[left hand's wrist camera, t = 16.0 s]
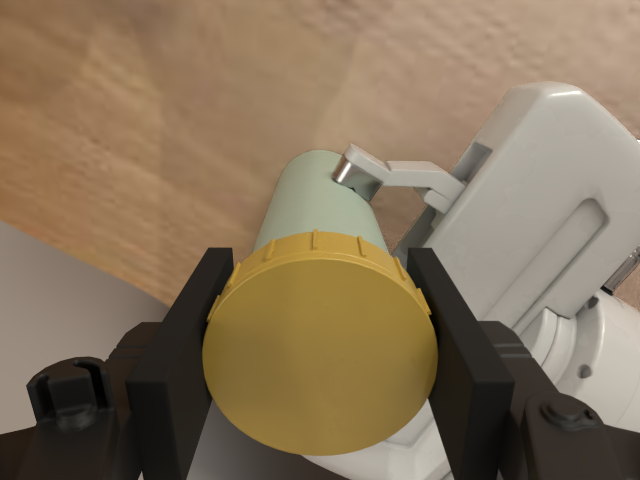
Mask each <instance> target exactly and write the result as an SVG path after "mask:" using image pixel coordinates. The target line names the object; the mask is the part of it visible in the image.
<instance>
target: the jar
mask: <svg viewBox="0 0 640 480" xmlns="http://www.w3.org/2000/svg"><path fill="white" fill-rule="evenodd" d="M341 157H342V155H340V154H338V153H335V152H332V151H327V150H313V151H308V152H305V153H303V154H301V155H299V156H297V157H296V158H294V159H293V160H292V161H291V162H289V164H288V165H287V166H286V167H285V169H284V170H283V172H282V174H281V176H280V178H279V181H278V184H277V186H276V189H275V192H274V194H273V197H272V200H271V202H270V205H269V208H268V210H267V213H266V216H265V218H264V221H263V224H262V226H261V229H260V232H259V234H258V237H257V240H256V242H255V245H254V248H253V250H252V253H254V252H255V251H257V250H258V249H260V248H261V247H263V246H265V245H266V244H269V242H270V240H271V239H273V238H274V240H278V239H280V238H283V237H287V236H290V235H294V234H299V233H306V232H313V229H318V232H335V233H341V234H346V235H351V236H354V237H358V235H360V236H362V238H363V240H365V241H368V242H370V243H371V244H373V245H375V246H377V247H379V248H381V249H382V250H384V251H385V252H387V253H388V254H389V252H388V250H387V247H386V244H385V242H384V239H383V236H382V233H381V231H380V228H379V225H378V223H377V220H376V217H375V215H374V212H373V209H372V207H371V204H370V201H368V200H366V199H365V198H363V197H361V196H360V195H358V194H357V193H356V192H355V189H354V188H347V187H345V186H343V185H341V184H340V183H338V182H337V181H336V180H335V179H334V178H333V174H332V172H333V170H334V169H335V167H336V165H337V164H338V162H339V160H340V159H341ZM252 253H251V254H252Z"/></svg>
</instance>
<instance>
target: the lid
mask: <svg viewBox="0 0 640 480" xmlns="http://www.w3.org/2000/svg"><path fill="white" fill-rule="evenodd" d="M428 315H431V311H430V309H429V307H428V305H427V303H426V300H425V298H424V296H423V294H422V292H421V289H420V288H418V289H417V288H416V286H415V284H414V282H413V281H412V279H411V278H410V276H409V274H408V273H407V272H406V271H405V269H404V268H403V267H402V266H401V263H400V261H399V259H398V258H397V257H394V258H393V257H392V256H391V255H389V254H388V253H387V252H385V251H384V250H382V249H381V248H379V247H377V246H375V245H373V244H371V243H370V242H368V241H365V240H363V238H362V236H360V235H358V237H354V236H351V235H346V234H341V233H335V232H318V229H313V232H306V233H299V234H294V235H290V236H287V237H283V238H280V239H278V240H274V238H273V239H271V240H270V242H269V244H266V245H265V246H263V247H261V248H260V249H258V250H257V251H255V252H254V253H252V254H251V255H250V256H249V257H247V258H246V259H245V260H244V261H243V262H242V263H239V262H238V263H237V264H236V266H235V268H234V270H233V273H232V275H231V277H230V278H229V279H228V281H227V283H226V285H225V287H224V289H223V291H222V293H221V296H220V295H218V296H217V298H216V300H215V302H214V304H213V307H212V309H211V311H210V313H209V315H208V318H207V320H206V322H208V325H207V329H206V332H205V335H204V339H203V345H202V360H203V369H204V378H205V381H206V384H207V387H208V390H209V392H210V394H211V396H212V398H213V400H214V401H215V403H216V404H217V406H218V407H219V409H220V410H221V412H222V413H223V414H224V415H225V416H226V417H227V418H228V419H229V421H230V422H232V423H233V424H234V425H235V426H236V427H237V428H238V429H240V430H241V431H242V432H244V433H245V434H247V435H248V436H250V437H251V438H253V439H255V440H257V441H259V442H261V443H263V444H265V445H268V446H270V447H273V448H275V449H278V450H282V451H285V452H289V453H295V454H300V455H309V456H333V455H340V454H347V453H351V452H355V451H359V450H362V449H365V448H368V447H371V446H373V445H375V444H378V443H380V442H382V441H384V440H386V439H387V438H389V437H391V436H392V435H394V434H395V433H397V432H398V431H399V430H401V429H402V428H403V427H404V426H406V425H407V424H408V423H409V422H410V421H411V420H412V419H413V418H414V417H415V416H416V415H417V413H418V412H419V411H420V409H421V408H422V407H423V405H424V404H425V402H426V400H427V399H428V397H429V395H430V393H431V390H432V388H433V385H434V383H435V379H436V372H437V364H438V342H437V338H436V334H435V330H434V327H433V325H432V323H431V320H430V318H429V316H428Z"/></svg>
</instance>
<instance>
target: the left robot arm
mask: <svg viewBox="0 0 640 480" xmlns="http://www.w3.org/2000/svg"><path fill="white" fill-rule="evenodd" d="M233 270H234V265H233V252H232V248H208V249H207V251H206V253H205V254H204V256H203V257H202V259H201V261H200V262H199V264H198V265H197V267H196V269H195V270H194V272H193V273H192V275H191V277H190V278H189V280H188V281H187V283H186V285H185V286H184V288H183V289H182V291H181V293H180V294H179V296H178V297H177V299H176V301H175V302H174V304H173V305H172V307H171V309H170V310H169V312H168V313H167V315H166V317H165V318H164V320H163V321H162V322H141V323H140V324H139V325H137V326H136V327H134V328H133V329H131V330H130V331H128V332H127V333H126V334H125V335H124V336H123V338H122V339H121V340H120V342H119V343H118V345H117V348H115V349H114V350H113V351H112V353H111V354H110V355H109V359H107V360H106V361H105V362H104V361H102V360H101V359H98V358H94V357H75V358H71V359H67V360H63V361H60V362H57V363H55V364H53V365H50V366H48V367H46V368H44V369H43V370H42V371H40V372H39V373H37V374H36V375H35V376H33V378H32V379H31V380H30V381H29V383H28V384H27V385H26V387H27V390H28V394H29V397H30V401H31V404H32V408H33V411H34V415H35V418H36V421H37V423H36V426H34V427H30V428H27V429H23V430H18V431H14V432H10V433H5V434H0V480H138V478H139V476H140V474H141V471H142V473H143V479H144V480H186V478H187V475H188V472H189V469H190V466H191V463H192V460H193V457H194V454H195V451H196V448H197V445H198V441H199V438H200V435H201V432H202V429H203V426H204V423H205V420H206V417H207V414H208V411H209V408H210V405H211V402H212V399H213V398H212V396H211V394H210V392H209V390H208V387H207V384H206V381H205V378H204V369H203V360H202V345H203V339H204V335H205V332H206V329H207V325H208V322H206V320H207V318H208V315H209V313H210V311H211V309H212V307H213V304H214V302H215V300H216V298H217V296H218V295H220V296H221V293H222V291H223V289H224V287H225V285H226V283H227V281H228V279H229V278H230V277H231V275H232V273H233ZM406 272H407V273H408V274H409V276H410V278H411V279H412V281H413V282H414V284H415V286H416V288H417V289H418V288H420V289H421V292H422V294H423V296H424V298H425V300H426V303H427V305H428V307H429V309H430V311H431V315H428V316H429V318H430V320H431V323H432V325H433V327H434V330H435V334H436V338H437V342H438V364H437V372H436V379H435V383H434V385H433V388H432V390H431V393H430V395H429V397H428V401H429V404H430V407H431V410H432V413H433V416H434V419H435V422H436V425H437V429H438V432H439V435H440V438H441V441H442V444H443V447H444V450H445V453H446V456H447V459H448V462H449V465H450V468H451V471H452V474H453V478H454V480H497V475H498V470H499V471H500V473H501V475H502V478H503V480H640V433H639V432H635V431H630V430H626V429H621V428H617V427H613V426H610V425H606V424H604V423H603V421H602V420H601V418H600V417H599V415H598V414H597V412H596V411H594V410H593V409H592V408H591V407H590V406H588V405H587V404H586V403H584V402H582V401H580V400H578V399H576V398H574V397H572V396H570V395H566V394H563V393H560V392H559V391H558V390H557V388H556V387H555V385H554V384H553V383H552V381H551V380H550V379H549V377H548V376H547V375H546V373H545V372H544V371H543V369H542V368H541V367H540V365H539V364H538V363H537V361H536V360H535V359H534V358H532V354H531V353H530V352H529V350H528V349H527V348H526V347H524V344H523V342H522V341H521V340H520V338H519V337H518V336H517V334H516V333H515V332H514V331H513V330H511V329H510V328H508V327H507V326H506V325H504V324H503V323H501V322H500V321H477V319H476V318H475V316H474V315H473V313H472V311H471V310H470V308H469V307H468V305H467V303H466V302H465V300H464V299H463V297H462V295H461V294H460V292H459V291H458V289H457V287H456V286H455V284H454V283H453V281H452V279H451V278H450V276H449V275H448V273H447V271H446V270H445V268H444V267H443V265H442V263H441V262H440V260H439V259H438V257H437V255H436V254H435V252H434V251H433V249H432V248H408V256H407V269H406Z"/></svg>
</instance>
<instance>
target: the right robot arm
mask: <svg viewBox="0 0 640 480" xmlns="http://www.w3.org/2000/svg"><path fill="white" fill-rule="evenodd" d="M332 174H333V178H334V179H335V180H336V181H337V182H338V183H340V184H341V185H343V186H345V187H347V188H354V189H355V192H356V193H357V194H358V195H360V196H361V197H363V198H365V199H366V200H368V201H370V200H371V199H372V198H373V196H374V195H375V193H376V192H377V190H378V189H379V188H380V186H381V185H382V186H396V187H414V189H415V191H416V192H417V193H418V194H419V196H420V197H421V198H422V199H423V201H424V202H426V203H427V204H426V206H425V207H424V209H423V210H422V211H421V213H420V214H419V216H418V217H417V218H416V220H415V221H414V223H413V224H412V225H411V227H410V228H409V229H408V231H407V232H406V234H405V235H404V236H403V238H402V239H401V241H400V242H399V243H398V245H397V246H396V248H395V249H394V250H393V252H392V253H391V256H392V257H393V258H394V257H397V258H398V259H399V261H400V263H401V266H402V267H403V268H404V269H405V271H406V269H407V256H408V248H432V249H433V251H434V252H435V254H436V255H437V257H438V259H439V260H440V262H441V263H442V265H443V267H444V268H445V270H446V271H447V273H448V275H449V276H450V278H451V279H452V281H453V283H454V284H455V286H456V287H457V289H458V291H459V292H460V294H461V295H462V297H463V299H464V300H465V302H466V303H467V305H468V307H469V308H470V310H471V311H472V313H473V315H474V316H475V318H476V319H477V321H500V322H501V323H503V324H504V325H506V326H507V327H508V328H510V329H511V330H513V331H514V332H515V333H516V334H517V336H518V337H519V338H520V340H521V341H522V342H523V344H524V347H526V348H527V349H528V350H529V352H530V353H531V354H532V358H534V359H535V360H536V361H537V363H538V364H539V365H540V367H541V368H542V369H543V371H544V372H545V373H546V375H547V376H548V377H549V379H550V380H551V381H552V383H553V384H554V385H555V387H556V388H557V390H558V391H559V392H560V393H563V394H566V395H570V396H572V397H574V398H576V399H578V400H580V401H582V402H584V403H586V404H587V405H588V406H590V407H591V408H592V409H593V410H594V411H596V412H597V414H598V415H599V417H600V418H601V420H602V421H603V423H604V424H606V425H610V426H613V427H617V428H621V429H626V430H630V431H635V432H639V433H640V311H638V310H637V309H635V308H633V307H632V306H630V305H629V304H627V303H625V302H624V301H622V300H621V299H619V298H617V297H616V296H614V294H613V292H614V291H615V289H617V288H618V286H619V285H620V284H621V283H622V282H623V281H624V280H625V279H626V278H627V277H628V276H629V275H630V274H631V273H632V272H633V271H634V270H635V268H636V267H637V266H638V265H639V264H640V139H636V138H635V137H634V136H633V135H632V134H631V133H630V132H629V131H628V130H627V129H626V128H625V127H624V126H623V125H622V124H621V123H620V122H619V121H618V120H617V119H616V118H615V117H614V116H613V115H612V114H611V113H609V112H608V111H607V110H606V109H605V108H604V107H603V106H602V105H600V104H599V103H598V102H597V101H596V100H595V99H593V98H592V97H591V96H590V95H588V94H587V93H586V92H584V91H583V90H581V89H580V88H578V87H576V86H574V85H571V84H567V83H562V82H555V81H541V82H534V83H528V84H523V85H518V86H515V87H513V88H511V89H510V90H509V91H508V92H507V93H506V94H505V96H504V97H503V98H502V100H501V101H500V103H499V104H498V105H497V107H496V108H495V110H494V111H493V112H492V114H491V115H490V117H489V118H488V119H487V121H486V122H485V123H484V125H483V126H482V128H481V129H480V130H479V132H478V133H477V135H476V136H475V137H474V139H473V140H472V142H471V143H470V144H469V146H468V147H467V149H466V150H465V151H464V153H463V154H462V156H461V157H460V158H459V160H458V161H457V163H456V164H455V165H454V167H453V168H452V170H451V171H450V172H449V173H448V172H446V171H444V170H443V169H441V168H440V167H438V166H436V165H435V164H433V163H432V162H430V161H386V162H385V163H383V162H382V161H380V160H378V159H377V158H375V157H373V156H372V155H370V154H369V153H367V152H365V151H364V150H362V149H361V148H359V147H357V146H355V145H353V144H351V143H350V144H349V146H348V147H347V149H346V151H345V152H344V154H343V155H342V157H341V159H340V160H339V162H338V164H337V165H336V167H335V169H334V170H333V172H332ZM302 456H303V457H305V458H306V459H308V460H310V461H311V462H313V463H315V464H317V465H320V466H322V467H324V468H326V469H328V470H330V471H332V472H334V473H337V474H339V475H341V476H344V477H346V478H349V479H351V480H454V478H453V474H452V471H451V468H450V465H449V462H448V459H447V456H446V453H445V450H444V447H443V444H442V441H441V438H440V435H439V432H438V429H437V425H436V422H435V419H434V416H433V413H432V410H431V407H430V404H429V401H428V399H427V400H426V402H425V404H424V405H423V407H422V408H421V409H420V411H419V412H418V413H417V415H416V416H415V417H414V418H413V419H412V420H411V421H410V422H409V423H408V424H407V425H406V426H404V427H403V428H402V429H401V430H399V431H398V432H397V433H395V434H394V435H392V436H391V437H389V438H387V439H386V440H384V441H382V442H380V443H378V444H375V445H373V446H371V447H368V448H365V449H362V450H359V451H355V452H351V453H347V454H340V455H333V456H309V455H302ZM497 480H503V478H502V475H501V473H500V471H499V470H498V475H497Z"/></svg>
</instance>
